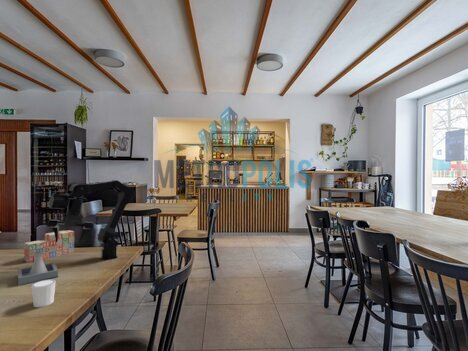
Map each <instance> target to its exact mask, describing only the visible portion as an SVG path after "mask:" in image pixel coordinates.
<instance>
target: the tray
mask: <svg viewBox="0 0 468 351" xmlns="http://www.w3.org/2000/svg"><path fill="white" fill-rule="evenodd" d="M44 264H45V266H46V268H47V270H48V272H43V273H38V274H33V275H29V273H30V271H31V268H32V266H27V267H20V268H17V283H18V284H17V285H18V287H21V286H24V285H29V284H34V283H36V282H39V281H42V280H49V279H52V280H53V279H57V278H59V269H58V268H57V265H56V264H55V261H54V262H48V263H44Z"/></svg>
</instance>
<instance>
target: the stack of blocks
mask: <svg viewBox="0 0 468 351" xmlns="http://www.w3.org/2000/svg"><path fill="white" fill-rule="evenodd" d="M38 251H43V253H42V258H43V260H47V259H51V258H56V257H59V256H64V255H69V254H72V253H75V231H74V230H70V229H68V230H67V229H66V230H59V235H58V242H56V238H55V233H54V231H53V232H48V233H45V234H44V239H40V240H34V241H28V242H24V252H23V253H24V256H23V257H24V261H25V262H27V263H28V264H29V263H34V258H35V255H34V252H38Z"/></svg>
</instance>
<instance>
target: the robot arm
mask: <svg viewBox="0 0 468 351" xmlns="http://www.w3.org/2000/svg"><path fill="white" fill-rule="evenodd" d="M108 189H114V191H115V192H117V193H118V195H117V203H116V205H115V207H114V209H113V211H112V214H111V216H110V217H109V220H108V222H107V224H106V226H105V227H104V228H102V227H101V228H100V229H99V232H98V234H97V235H96V236H97V238H96V239H97V242H99V243H100V245H101V246H102V248H101V252H100V254H101V255H100V256H101V259H103V260H104V261H107V260H113V259H117V258H118V256H117V247H118V246H119V242H118V241H117V240H116V239H115V236H116V228H117V226H118V224H119V222H120V220H121V217H122V215H123V213H124V211H125V209H126V206H127V205H128V203H130V202H131V201H132V200H133V198H134V196H135V194H136V193H135V190H134V188H131V187H129V186H127V185H126V184H123V183H122V182H121V181H119V180H116V179H114V180H108V181H101V182H96V183H73V184H71V186H69V189H68V190H67V191H66V192H65V193H64V194H59V193H54V192H53V193H52V194H51V196H50V198H49V201H48V208H49V209H58V210H60V209H61V210H65V209H66V208H67V209H66V214H65V217H64V221H60V219H49V220H48V221H47V223H46V227H49V228H50V229H52V231H53V232H54V233H55V238H56V242H58V235H59V231H60V226H64V227H72V228H75V227H79V228H80V227H83V228H82V231H81V233H80V237H79V239H78V243H79V244H80V243H81V242H82V240H83V238H84V235H85V234H86V233H87V231H90V230H91V229H92V230H93V229H94V225H95V223H94V222H93V221H85V222H83V218H84V217H83V216H81V213H82V208H83V207H82V206H83V202H88V201H89V200H88V199H87V198H86V195H88V194H90V193H92V192H98V191H103V190H108Z"/></svg>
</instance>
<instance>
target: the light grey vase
mask: <svg viewBox="0 0 468 351" xmlns="http://www.w3.org/2000/svg"><path fill="white" fill-rule="evenodd" d="M42 253H43V251H38V252H34V255H35V258H34V262H32V268H31V271H30V273H29V275H33V274H38V273H43V272H48V270H47V268H46V266H45V264H46V263H45V262H44V259H43V258H42Z"/></svg>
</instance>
